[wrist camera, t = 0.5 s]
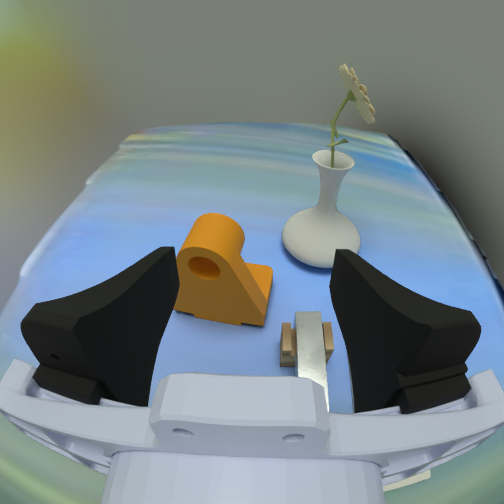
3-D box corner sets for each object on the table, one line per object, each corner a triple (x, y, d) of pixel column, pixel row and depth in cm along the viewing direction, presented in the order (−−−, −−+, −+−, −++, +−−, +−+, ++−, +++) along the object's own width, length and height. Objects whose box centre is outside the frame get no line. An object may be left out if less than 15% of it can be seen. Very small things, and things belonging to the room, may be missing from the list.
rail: (323, 491, 15) (330, 493, 14) (294, 493, 15) (298, 496, 14) (316, 324, 27) (320, 311, 26) (293, 324, 27) (295, 311, 26)
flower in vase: (351, 285, 34) (402, 84, 17) (269, 261, 38) (269, 63, 20) (363, 225, 43) (393, 71, 25) (297, 208, 46) (304, 56, 28)
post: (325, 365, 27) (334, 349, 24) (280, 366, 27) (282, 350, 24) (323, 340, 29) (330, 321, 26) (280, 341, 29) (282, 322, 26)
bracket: (273, 280, 35) (275, 202, 27) (263, 329, 30) (263, 255, 22) (194, 269, 37) (175, 194, 29) (175, 313, 32) (144, 240, 24)
